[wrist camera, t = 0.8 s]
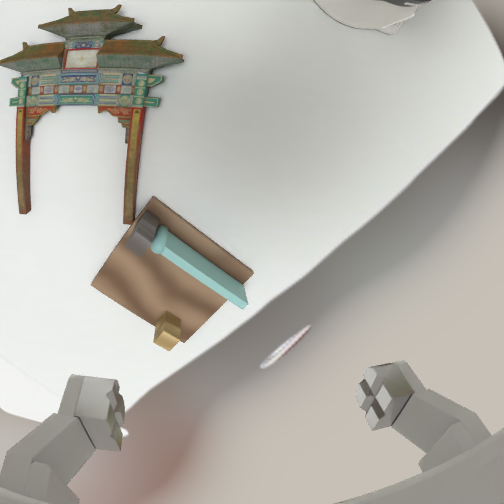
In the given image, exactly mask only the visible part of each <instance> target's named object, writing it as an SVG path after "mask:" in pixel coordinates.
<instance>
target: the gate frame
mask: <svg viewBox="0 0 504 504" xmlns="http://www.w3.org/2000/svg"><path fill="white" fill-rule="evenodd" d="M160 225H164V226H166V227H167V228H168V230H169V232H170V233H171V234H173V235H174V236H176V237H177V238H178V239H180V240H181V241H182V242H184V243H185V244H187V245H188V246H189V247H191V248H192V249H193V250H195V251H196V252H198V253H199V254H200V255H202V256H203V257H204V258H206V259H207V260H209V261H210V262H211V263H213V264H214V265H216V266H217V267H218V268H220V269H221V270H223V271H224V272H225V273H227V274H228V275H230V276H231V277H232V278H234V279H235V280H237V281H238V282H240V283H241V284H242V285H243V284H244V283H245V282H246V281H247V280H248V279H249V278H250V277H251V276H252V275H253V274H254V273H253V271H252V270H251V269H250V268H248V267H247V266H246V265H244V264H243V263H242V262H240V261H239V260H238V259H236V258H235V257H234V256H232V255H231V254H230V253H228V252H227V251H225V250H224V249H223V248H221V247H220V246H219V245H217V244H216V243H215V242H213V241H212V240H211V239H210V238H208V237H207V236H206V235H204V234H203V233H202V232H200V231H199V230H198V229H196V228H195V227H194V226H192V225H191V224H190V223H188V222H187V221H186V220H184V219H183V218H182V217H180V216H179V215H178V214H176V213H175V212H174V211H172V210H171V209H170V208H169V207H167V206H166V205H165V204H163V203H162V202H161V201H159V200H158V199H157V198H155V197H154V196H153V197H152V199H151V200H150V201H149V202H148V204H147V205H146V206H145V208H144V209H143V210H142V212H141V213H140V214H139V216H138V217H137V218H136V220H135V221H134V222H133V225H131V226H130V228H129V229H128V231H127V232H126V233H125V235H124V236H123V238H122V239H121V240H120V242H119V243H118V245H117V246H116V248H115V249H114V250H113V252H112V253H111V255H110V256H109V258H108V259H107V261H106V262H105V264H104V265H103V267H102V268H101V270H100V271H99V273H98V274H97V276H96V277H95V279H94V280H93V282H92V284H91V286H93V287H94V288H96V289H97V290H99V291H100V292H102V293H103V294H105V295H106V296H108V297H109V298H111V299H112V300H114V301H115V302H117V303H118V304H120V305H121V306H123V307H125V308H126V309H128V310H129V311H131V312H132V313H134V314H136V315H137V316H139V317H141V318H142V319H144V320H145V321H147V322H149V323H150V324H152V325H154V326H155V327H156V328H155V335H154V343H155V344H157V345H159V346H161V347H162V348H164V349H166V350H168V351H170V350H171V349H172V348H173V347H174V346H175V345H176V344H177V343H178V342H179V341H181V342H183V343H185V342H186V341H187V340H188V339H189V338H190V337H191V336H192V335H193V334H194V333H195V332H196V331H197V330H198V329H199V328H200V327H201V326H202V325H203V324H204V323H205V322H206V321H207V320H208V319H209V318H210V317H211V316H212V315H213V314H214V313H215V312H216V311H217V310H218V309H219V308H220V307H221V306H222V305H223V304H224V303H225V302H226V301H227V299H226V298H224V297H223V296H221V295H220V294H218V293H217V292H215V291H214V290H212V289H211V288H209V287H208V286H206V285H205V284H203V283H202V282H200V281H199V280H197V279H196V278H195V277H193V276H192V275H190V274H189V273H187V272H186V271H184V270H183V269H181V268H180V267H179V266H177V265H176V264H174V263H173V262H171V261H170V260H169V259H167V258H166V257H164V256H163V255H161V254H156V253H154V252H153V251H152V250H151V244H152V242H153V239H154V236H155V233H156V230H157V227H158V226H160Z"/></svg>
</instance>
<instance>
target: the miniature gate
mask: <svg viewBox="0 0 504 504" xmlns="http://www.w3.org/2000/svg"><path fill="white" fill-rule="evenodd" d="M121 6H122V5H117V6H116V7H115V8H113V9H110V10H109V9H106V10H89V11H77V12H74V11H73V10H72V8H68V9H69V16H67V17H64V18H62V19H59V20H56V21H52V22H49V23H45V24H41V25H39V26H38V28H40V29H43V30H46V31H49V32H51V33H54V34H57V35H60V36H63V37H65V40H66V42H57V43H47V44H39V45H32V46H28V45H27V43H26V42H23V49H24V50H23V51H21V52H19V53H17V54H15V55H13V56H10V57H8V58H5V59H2V60H0V66H3V67H6V68H9V69H13V70H16V71H19V72H22V73H21V74H22V75H21V77H19V78H12V82H11V84H13V85H14V86H15V87H16V88H19V90H18V97H16V98H10V105H9V106H17V118H16V175H17V191H18V203H19V213H20V214H27V213H28V212H29V211H30V210H31V200H30V139H31V129H32V125H34V124H35V122H36V121H38V119H39V115H43V114H45V113H46V112H47V111H48V110H49V111H51V112H52V113H55V112H56V110H57V105H98V113H102V112H103V111H108V112H109V113H110V114H111V115H112V116H116V117H118V122H119V123H122V127H125V128H126V138H125V143H128V149H127V160H126V174H125V190H124V215H123V224H129V225H133V222H134V220H135V206H136V192H137V180H138V170H139V159H140V149H141V140H142V131H143V123H144V116H145V108H146V106H147V107H159V101H160V98H155V97H147V95H148V89H149V86H150V87H153V86H155V85H157V84H159V83H161V82H163V78H164V76H161V75H150V74H151V72H152V70H153V69H156V68H160V67H164V66H168V65H172V64H176V63H181V62H184V60H183V59H182V57H183V55H181V54H178V53H175V52H172V51H169V50H166V49H164V48H162V47H160V46H159V45H161V44H162V42H163V40H164V38H165V36H162V37H161V38H160V39H158V40H155V41H151V40H108V39H109V37H111V36H114V35H118V34H121V33H125V32H129V31H133V30H137V29H142V25H139V24H136V23H135V22H134V18H128V17H123V16H120V15H117V14H116V13H118V11H119V10H120V8H121Z"/></svg>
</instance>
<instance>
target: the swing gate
mask: <svg viewBox="0 0 504 504" xmlns="http://www.w3.org/2000/svg"><path fill="white" fill-rule="evenodd" d="M151 250H152V251H153V252H154V253H156V254H161V255H163V256H164V257H166V258H167V259H169V260H170V261H171V262H173V263H174V264H176V265H177V266H179V267H180V268H181V269H183V270H184V271H186V272H187V273H189V274H190V275H192V276H193V277H195V278H196V279H197V280H199V281H200V282H202V283H203V284H205V285H206V286H208V287H209V288H211V289H212V290H214V291H215V292H217V293H218V294H220V295H221V296H223V297H224V298H226V299H227V300H229V301H230V302H232V303H233V304H235V305H236V306H238V307H239V308H241V309H244V308H245V307H246V306H247V305H248V301H247V297H246V293H245V289H244V285H242V284H241V283H240V282H238V281H237V280H235V279H234V278H232V277H231V276H230V275H228V274H227V273H225V272H224V271H223V270H221V269H220V268H218V267H217V266H216V265H214V264H213V263H211V262H210V261H209V260H207V259H206V258H204V257H203V256H202V255H200V254H199V253H198V252H196V251H195V250H193V249H192V248H191V247H189V246H188V245H187V244H185V243H184V242H182V241H181V240H180V239H178V238H177V237H176V236H174V235H173V234H171V233H170V232H169V230H168V228H167V227H166V226H164V225H160V226H158V227H157V230H156V233H155V236H154V239H153V242H152V244H151Z"/></svg>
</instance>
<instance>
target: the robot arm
mask: <svg viewBox="0 0 504 504" xmlns="http://www.w3.org/2000/svg"><path fill="white" fill-rule="evenodd" d="M315 1H316V3H317V4H318V5H319V6H320V7H321V8H322V9H323V10H324V11H325V12H326V13H327V14H328V15H329V16H331V17H332V18H334V19H335V20H337V21H339V22H340V23H343V24H345V25H347V26H350V27H354V28H359V29H376V30H379V31H381V32H383V33H386V34H389V35H392V34H395V33H397V32H398V30H399V29H400V27H401V25H402V24H403V22H404V21H405V20H406V19H409V18H412V17H413V16H415V11H416V10H417V9H418V7H419V5H422V4H425V3H428V2H429V1H431V0H315ZM363 376H364V378H365V379H364V380H363V381H362V382H360V383H359V385H358V388H357V395H356V397H357V401H358V404H359V406H360V408H362V409H363V410H365V411H366V415H365V418H366V420H367V422H368V424H369V426H370V428H371V429H372V431H373V430H377V429H381V428H385V427H389V426H392V428H394V429H395V430H396V431H398V432H399V433H400V434H402V435H403V436H404V437H406V438H407V439H408V440H410V441H411V442H412V443H414V444H415V445H416V446H418V447H419V448H421V449H422V450H423V451H424V452H426V453H427V454H426V455H425V456H424V457H423V458H422V459H421V460H420V462H419V466H420V467H421V470H422V472H423V473H421V474H418V475H416V476H414V477H411V478H409V479H406V480H404V481H402V482H399V483H397V484H394V485H391V486H388V487H386V488H383V489H380V490H377V491H375V492H372V493H368V494H366V495H362V496H359V497H356V498H353V499H349V500H345V501H342V502H338V503H334V504H504V428H503V429H502V430H500V431H498V432H497V433H495V434H494V435H491V434H490V432H489V431H488V430H487V428H486V427H485V425H484V424H483V423H482V421H481V420H480V419H479V417H478V416H477V414H476V413H474V412H472V411H470V410H469V409H467V408H465V407H463V406H461V405H459V404H457V403H455V402H453V401H451V400H449V399H447V398H445V397H444V396H441V395H440V394H438V393H436V392H434V391H432V390H430V389H428V390H426V388H425V387H424V386H423V384H422V383H421V381H420V380H419V379H418V377H417V376H416V375H415V373H414V372H413V370H412V369H411V368H410V366H409V365H408V363H407V362H405V361H399V362H393V363H387V364H383V365H377V366H372V367H368V368H367V369H366V370H365V372H364V374H363ZM119 388H120V387H119V384H118V381H117V380H115V379H106V378H97V377H89V376H81V375H73V374H72V375H71V376H70V377H69V379H68V382H67V385H66V388H65V391H64V394H63V398H62V401H61V404H60V407H59V411H58V414H56V413H53V414H52V415H51V416H49V417H48V418H47V419H46V420H45V421H43V422H42V423H41V424H40V425H39V426H37V427H36V428H35V429H34V430H32V431H31V432H30V433H29V434H28V435H26V436H25V437H24V438H23V439H22V440H20V441H19V442H18V443H17V444H16V445H14V446H13V447H12V448H11V449H9V450H8V451H7V453H6V456H5V460H4V463H3V467H2V470H1V474H0V504H79V498H78V497H77V496H76V494H75V493H74V492H73V491H72V490H71V489H70V488H69V487H68V486H67V484H68V483H69V482H70V481H71V479H72V478H73V477H74V476H75V475H76V473H77V472H78V471H79V470H80V469H81V467H82V466H83V465H84V464H85V463H86V461H87V460H88V459H89V458H90V457H91V455H92V454H93V453H94V452H95V451H96V450H95V449H101V450H112V451H121V444H122V435H123V434H122V432H121V429H120V426H122V425H123V424H124V417H125V406H124V400H123V397H122V395H120V394H119Z"/></svg>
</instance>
